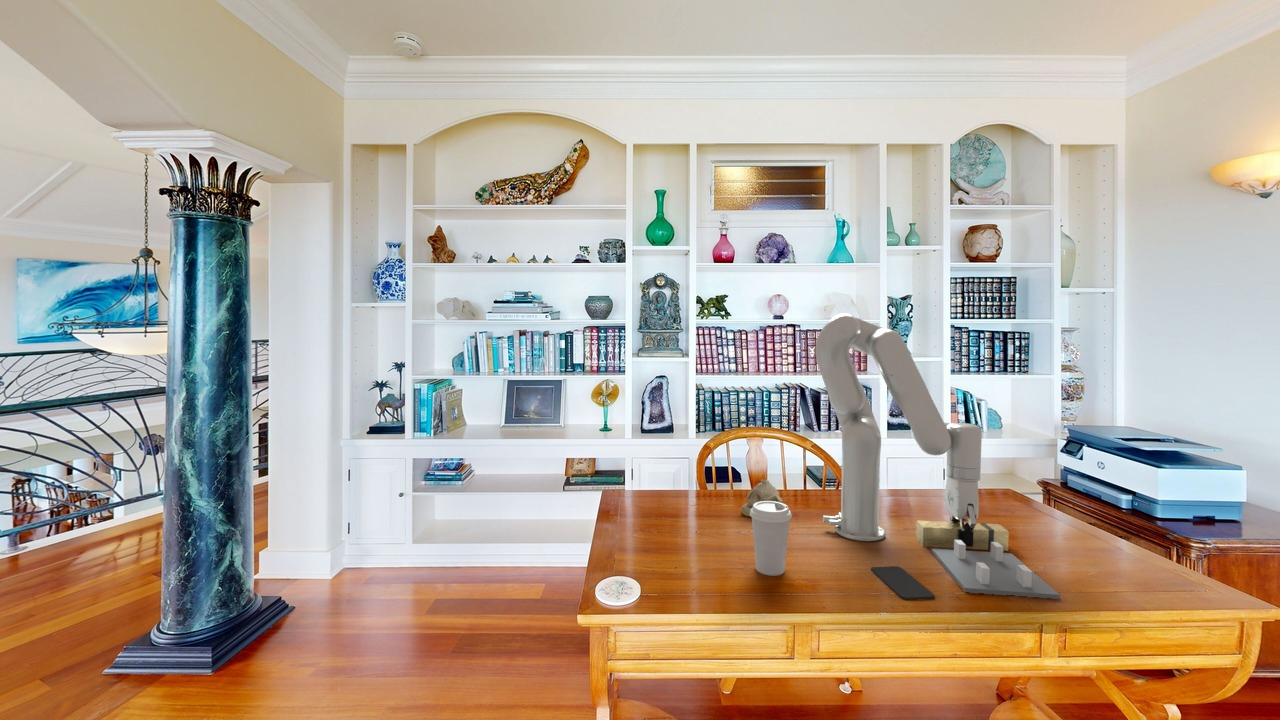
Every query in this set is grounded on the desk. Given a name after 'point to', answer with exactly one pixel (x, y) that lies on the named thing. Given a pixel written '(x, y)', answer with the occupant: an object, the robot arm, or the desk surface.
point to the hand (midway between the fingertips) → (961, 540)
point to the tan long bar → (949, 531)
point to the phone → (902, 583)
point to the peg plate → (992, 572)
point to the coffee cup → (770, 536)
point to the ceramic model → (761, 495)
